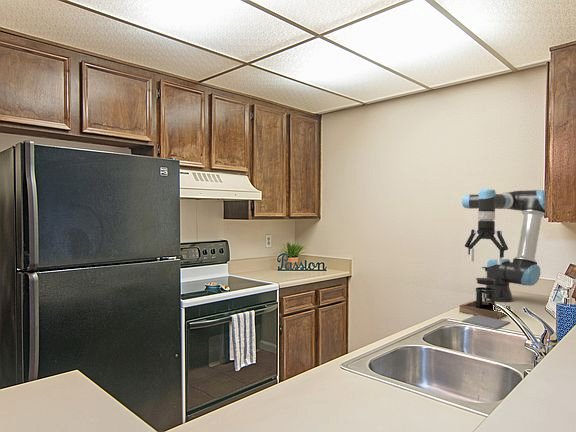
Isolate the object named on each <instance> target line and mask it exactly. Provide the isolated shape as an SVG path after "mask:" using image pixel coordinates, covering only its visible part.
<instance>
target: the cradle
mask: <svg viewBox="0 0 576 432" xmlns="http://www.w3.org/2000/svg"><path fill="white" fill-rule="evenodd" d="M482 304H487V305H489V303H482ZM492 306H493V303H492ZM505 306H506V307H508V308H509V309H510V310H511V306H509V305H505ZM475 307H476V299H475V300H472V301H468V302H466V303H463V304H459V313H461V312H462V314H466V315H471V316H476V315H479V316H484V317H489V318H494V319H500V318H502V317H505V316H506V315H505V314H504V313H502V312H498V311H490V310H484V309H479V308H475Z"/></svg>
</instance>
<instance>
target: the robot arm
mask: <svg viewBox="0 0 576 432" xmlns="http://www.w3.org/2000/svg"><path fill="white" fill-rule="evenodd" d="M545 191H546V189H545V190H544V189H535V190H534V189H532V190H514V191H513V190H512V191H508V192H502V193H497V192H496V190H495V189H491V188H490V189H489V188H487V189H480V190H479V191H478V194H477V193H476V194H470V193H469V194H465V195H463V197H462V199H461V204H462V207H463V208H464V209H478V211H477V212H478V213H477V215H478V217H477V219H478V221H477V229H474V228H473V229H471V232H470V235H469V236H468V238H467V240H466V243H465V245H464V247H465V248H467V249H468V252H467V253H468V256H469V262H471V263H472V262H474V261H475V248H474V247H475V246H476V244H478V242H480V240H490V241H492V243H493V244H494V245H495V246H496V248H497V249H498V251H497V259H496V258H495V259H494V258H493V259H488V261H487V263H486V267H490V268H491V269H487V271H486V278H490V279H495V280H496V281H495V285H486V288H492V289H495V290H496V293H495V302H500V303H501V302H504V303H507V302H512V301H513V295H512V291H511V287H510V284H516V285H520V286H530V287H531V286H534V285H536V284H537V283H538V281H539V280H540V277H541V273H542V271H541V268H540V266H539V265H538V261H537V260H536V253H537V247H538V241H539V236H540V229H541V224H542V223H541V222H542V219H543V217H545V216H544V214H545ZM496 209H497V210H513V211H521V214H522V215H523V219H522V220H523V221H522V226H521V231H520V236H519V244H518V248H517V254H516V256H515V257H514V258H513V259H512V261H511V260H510V259H509V258H504V256H505V251H508V250H509V247H508V245H507V243H506V241H505V239H504V237H503V233H502V232H503V231H501V230H496V228H495V227H496V222H495V221H494V220H496ZM545 215H546V214H545ZM476 234H477V236H476ZM495 235H496V236H497V239H496V237H495ZM475 236H476V238H475ZM474 238H475V239H474ZM486 291H489V290H486ZM482 298H485V293H482ZM486 299H489V293H486ZM492 300H493V293H492Z"/></svg>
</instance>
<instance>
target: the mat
mask: <svg viewBox="0 0 576 432" xmlns="http://www.w3.org/2000/svg"><path fill="white" fill-rule="evenodd" d="M461 322H462V323H466V324H471V325H476V326H479V327H484V328H489V329H493V330H498V329H500V328H502V327H505V326H507V325H509V324H511V322H510V321H507V320H503V319H500V318H498V319H494V318H489V317H484V316H479V315H476V316H475V315H472V316H471V317H469V318H466V319H464V320H462V321H461Z"/></svg>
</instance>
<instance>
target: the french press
mask: <svg viewBox="0 0 576 432" xmlns="http://www.w3.org/2000/svg"><path fill="white" fill-rule="evenodd" d="M481 269H484V271H485V272H487V269H491V268H490V267H487V266H482V267H481ZM475 280H476V284H479V285H482V286H483V285H484V286H485V287H484V286H483V287H481V286H480V287H475V293H476V295H475V300H476V307H475V308H479V309H484V310H490V311H494V310H493V306H492V303H493V305H494V304H496V301H495V293H496V290H495V289H492V288H486V285H495V281H496V280H495V279H490V278H487V277H477V278H476V279H475ZM486 290H489V291H486ZM483 293H485V298H483ZM486 293H489V299H486ZM492 293H493V300H492ZM482 303H489V305H487V304H482Z"/></svg>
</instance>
